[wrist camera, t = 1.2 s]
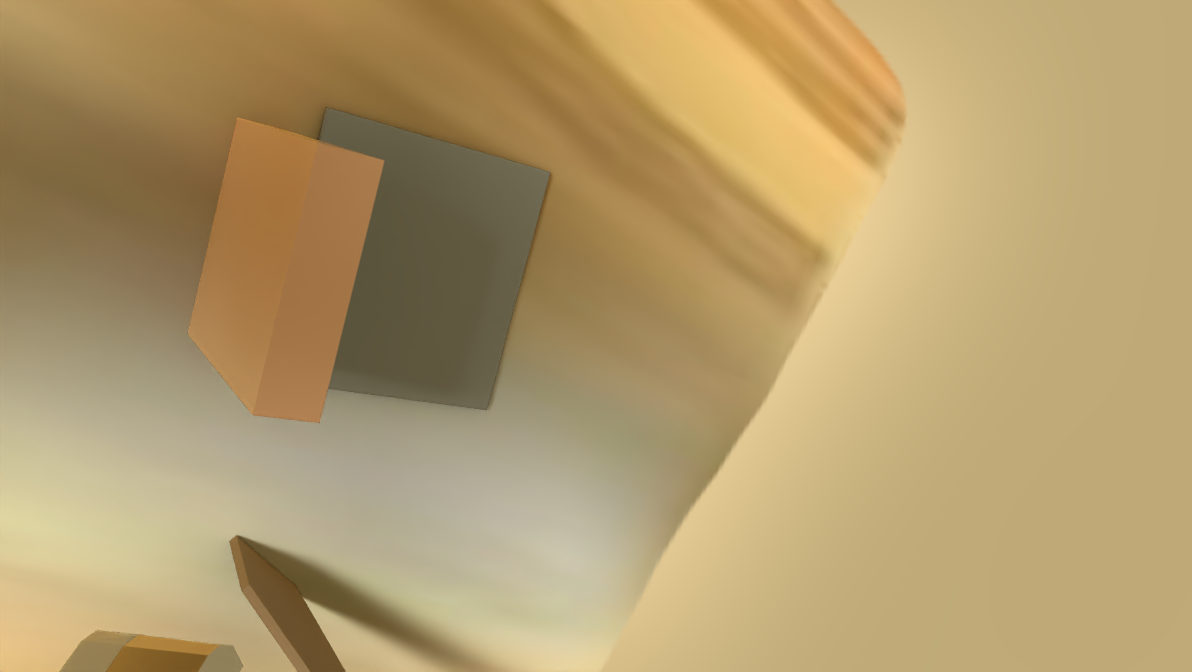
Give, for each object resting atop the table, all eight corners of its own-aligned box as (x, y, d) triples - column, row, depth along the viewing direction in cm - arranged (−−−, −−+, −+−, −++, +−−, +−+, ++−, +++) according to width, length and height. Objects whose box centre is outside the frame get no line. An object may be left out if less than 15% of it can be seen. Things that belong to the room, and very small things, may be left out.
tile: (237, 116, 47) (318, 142, 37) (293, 132, 48) (385, 161, 38) (187, 334, 48) (252, 415, 38) (243, 342, 49) (320, 423, 39)
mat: (261, 377, 50) (263, 379, 50) (326, 107, 49) (328, 107, 48) (483, 407, 57) (486, 409, 56) (546, 171, 55) (550, 172, 55)
